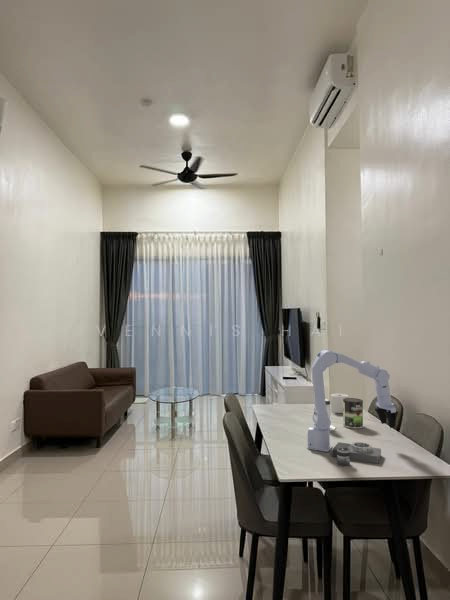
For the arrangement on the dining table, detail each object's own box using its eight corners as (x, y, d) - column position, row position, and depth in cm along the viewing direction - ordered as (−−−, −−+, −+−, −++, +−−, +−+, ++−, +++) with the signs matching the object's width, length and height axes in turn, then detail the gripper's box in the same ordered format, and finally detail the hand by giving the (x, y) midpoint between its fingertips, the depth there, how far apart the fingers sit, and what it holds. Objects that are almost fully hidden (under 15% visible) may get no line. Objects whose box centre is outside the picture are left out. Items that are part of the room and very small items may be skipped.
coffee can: (367, 427, 223) (366, 401, 223) (349, 429, 220) (349, 402, 221) (356, 423, 233) (355, 397, 233) (339, 424, 230) (339, 398, 231)
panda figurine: (310, 424, 229) (310, 396, 230) (331, 424, 230) (330, 396, 231) (316, 430, 218) (316, 401, 218) (338, 430, 218) (338, 401, 219)
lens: (335, 465, 169) (335, 449, 169) (338, 461, 173) (338, 446, 173) (348, 467, 166) (348, 451, 167) (351, 463, 171) (351, 448, 171)
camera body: (332, 456, 178) (332, 444, 179) (338, 449, 188) (338, 437, 188) (377, 464, 170) (377, 451, 170) (381, 455, 180) (381, 443, 180)
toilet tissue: (348, 410, 264) (348, 394, 264) (348, 414, 252) (348, 397, 253) (331, 408, 267) (331, 393, 267) (330, 413, 256) (329, 396, 256)
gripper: (400, 396, 183) (405, 427, 183) (384, 391, 197) (388, 419, 197) (385, 399, 182) (390, 430, 182) (369, 393, 197) (374, 422, 196)
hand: (388, 425), depth 189 cm, fingers open, 7 cm apart
